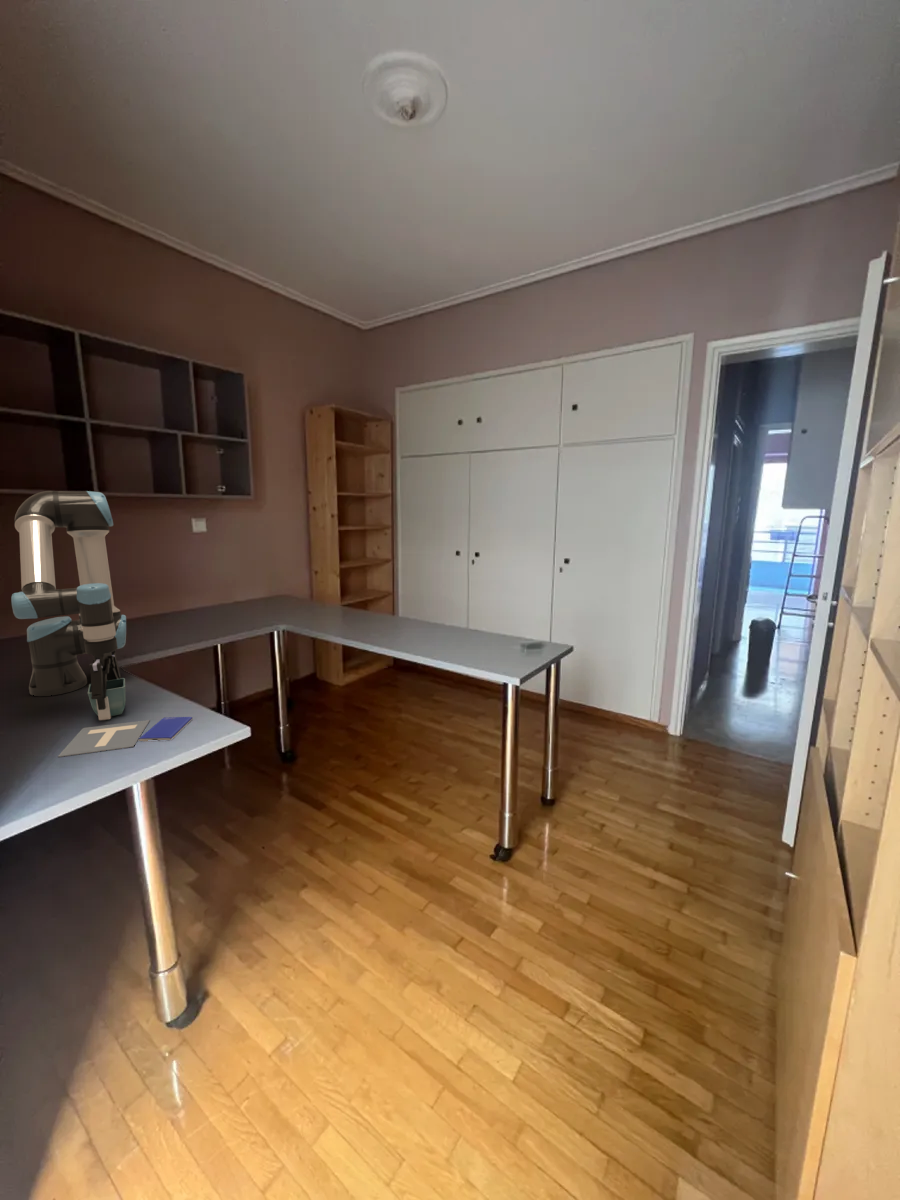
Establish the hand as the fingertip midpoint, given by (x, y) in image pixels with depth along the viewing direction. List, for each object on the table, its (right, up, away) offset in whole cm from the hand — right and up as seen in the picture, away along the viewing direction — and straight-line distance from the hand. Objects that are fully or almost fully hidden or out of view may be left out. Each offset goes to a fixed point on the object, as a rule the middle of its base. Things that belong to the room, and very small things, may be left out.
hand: (110, 711), depth 143 cm
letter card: (+9, -3, -14) cm, 17 cm away
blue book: (+22, -3, -10) cm, 25 cm away
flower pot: (0, -1, 0) cm, 1 cm away
